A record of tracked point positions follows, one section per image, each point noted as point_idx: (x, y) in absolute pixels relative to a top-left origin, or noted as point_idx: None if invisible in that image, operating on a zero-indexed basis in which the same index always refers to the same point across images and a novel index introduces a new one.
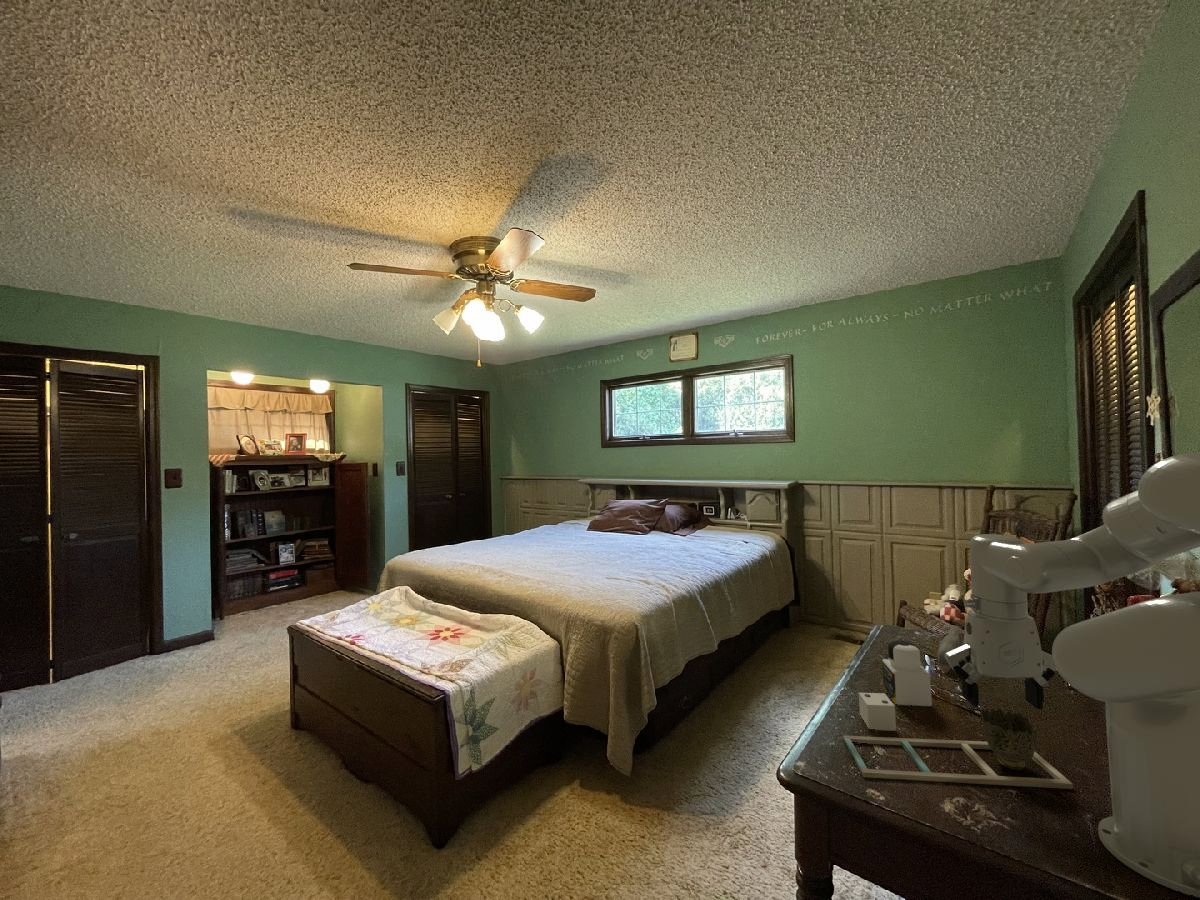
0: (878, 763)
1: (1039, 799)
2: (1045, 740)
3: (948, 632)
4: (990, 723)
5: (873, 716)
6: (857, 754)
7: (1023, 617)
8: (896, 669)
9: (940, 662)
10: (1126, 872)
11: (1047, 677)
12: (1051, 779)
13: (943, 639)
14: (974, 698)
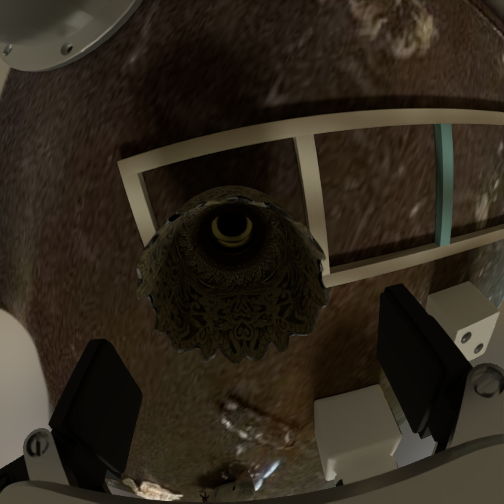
0: (496, 160)
1: (219, 81)
2: (131, 345)
3: None
4: (317, 247)
5: (477, 299)
6: None
7: None
8: (392, 446)
9: (252, 484)
10: None
11: (22, 467)
12: (159, 164)
13: None
14: (421, 307)
